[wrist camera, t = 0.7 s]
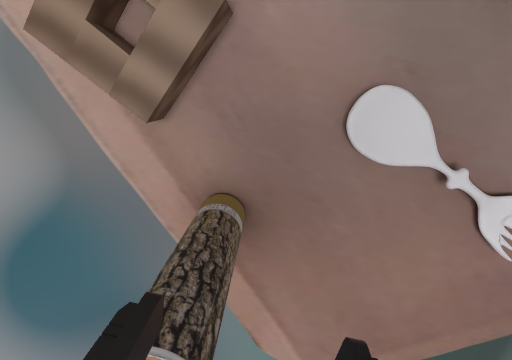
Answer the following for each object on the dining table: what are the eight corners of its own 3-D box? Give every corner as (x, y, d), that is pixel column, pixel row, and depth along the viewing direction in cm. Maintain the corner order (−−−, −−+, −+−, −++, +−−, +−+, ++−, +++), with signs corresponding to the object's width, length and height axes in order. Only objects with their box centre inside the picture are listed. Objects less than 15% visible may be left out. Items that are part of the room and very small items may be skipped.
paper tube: (193, 205, 39) (73, 376, 16) (229, 184, 38) (154, 338, 14) (218, 238, 41) (144, 438, 17) (254, 219, 39) (224, 409, 16)
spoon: (492, 251, 39) (512, 266, 36) (328, 129, 34) (334, 133, 31) (546, 208, 36) (573, 219, 33) (375, 69, 32) (387, 67, 28)
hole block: (117, -92, 28) (85, -128, 23) (232, 13, 30) (225, -2, 26) (59, 37, 33) (23, 28, 28) (163, 118, 35) (146, 123, 30)
